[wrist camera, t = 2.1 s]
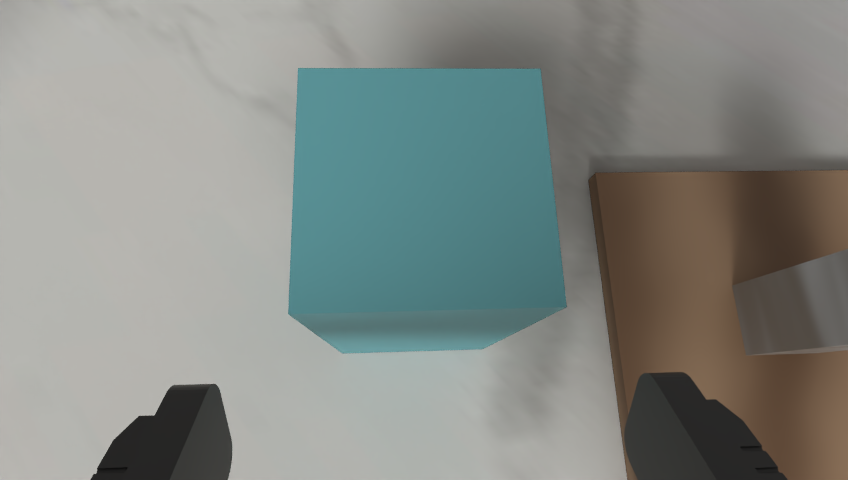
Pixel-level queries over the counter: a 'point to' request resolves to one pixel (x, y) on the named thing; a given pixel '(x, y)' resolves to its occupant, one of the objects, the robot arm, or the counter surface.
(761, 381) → the post board
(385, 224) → the teal block
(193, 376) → the counter surface
